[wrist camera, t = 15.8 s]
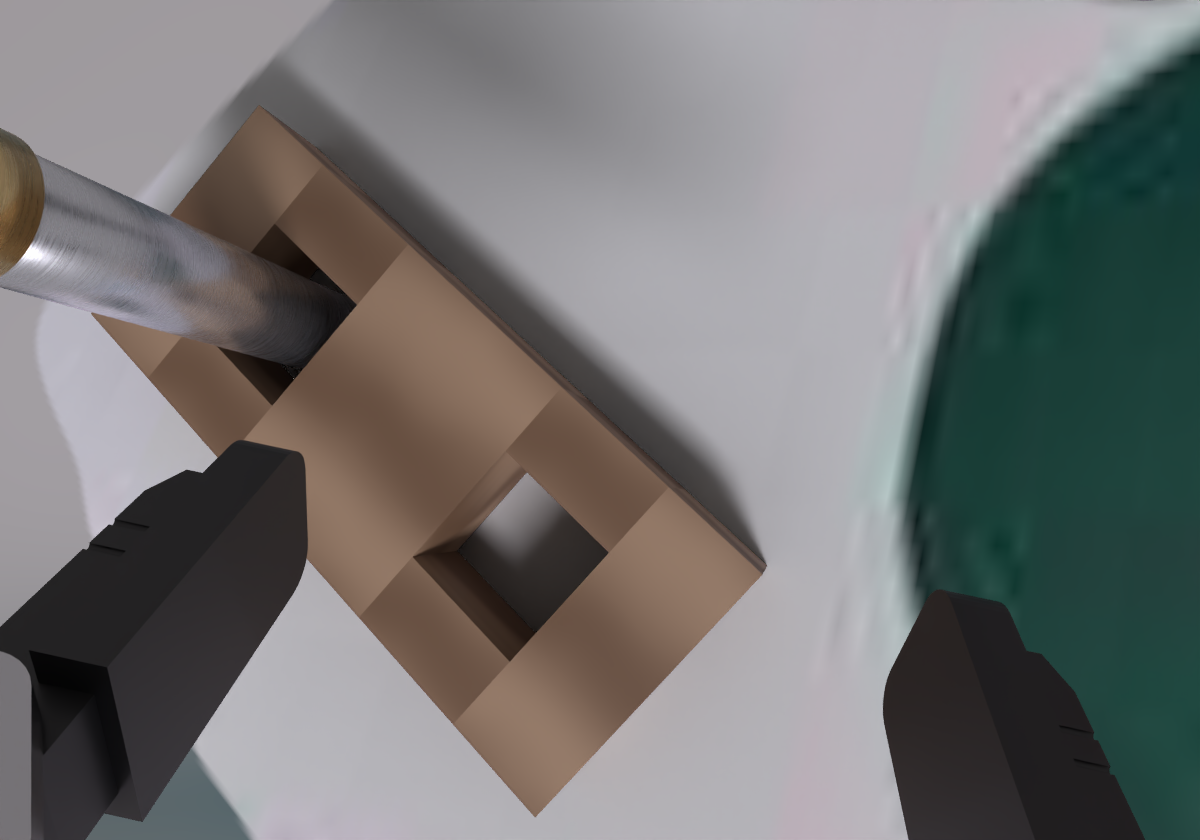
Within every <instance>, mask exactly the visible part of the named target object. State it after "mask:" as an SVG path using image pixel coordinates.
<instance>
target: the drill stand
mask: <svg viewBox="0 0 1200 840" xmlns="http://www.w3.org/2000/svg"><path fill="white" fill-rule="evenodd" d="M170 216H171V217H174V218H176V219H178V220H180V221H182V222H185V223H187V224H189V225H191V226H193V227H195V228H198V229H200V230H202V231H204V232H206V233H209V234H211V235H213V236H215V237H217V238H220V239H222V240H224V241H226V242H228V243H230V244H233V245H235V246H237V247H239V248H241V249H244V250H246V251H248V252H250V253H252V254H254V255H257V256H259V257H261V258H263V259H265V260H268V261H270V262H272V263H274V264H276V265H279V266H281V267H283V268H285V269H287V270H289V271H292V272H294V273H296V274H298V275H300V276H303V277H305V278H307V279H309V278H310V277H311V276H312V275H313V274H314V272H315V271H316V270H317V269H318V268H320V269H321V270H322V271H323V272H324V273H325V274H326V275H327V276H328V277H329V278H330V279H331V280H332V281H333V282H334V283H335V284H336V285H338V286H339V287H340V288H341V289H342V290H343V291H344V292H345V293H346V294H347V295H348V296H349V297H350V298H351V299H352V300H353V301H354V302H355V303H356V304H357V306H356V307H355V308H354V309H353V311H352V312H351V313H350V314H349V315H348V316H347V318H346V319H345V320H344V321H343V322H342V324H341V325H340V326H339V327H338V328H337V330H336V331H335V332H334V333H333V334H332V335H331V337H330V338H329V339H328V340H327V341H326V343H325V344H324V345H323V346H322V347H321V349H320V350H319V351H318V352H317V353H316V354H315V356H314V357H313V358H312V359H311V360H310V362H309V363H308V364H307V365H306V366H305V368H304V369H303V370H302V371H301V372H300V374H299V375H298V376H297V377H296V378H295V379H293V378H292V377H291V376H290V375H289V374H288V372H287V371H286V370H285V369H284V368H283V367H282V366H281V365H280V364H279V363H277V362H273V361H270V360H266V359H262V358H259V357H255V356H251V355H248V354H244V353H240V352H237V351H233V350H229V349H225V348H222V347H218V346H214V345H211V344H207V343H203V342H200V341H196V340H192V339H189V338H185V337H181V336H178V335H174V334H170V333H166V332H163V331H159V330H155V329H152V328H148V327H144V326H141V325H137V324H133V323H130V322H126V321H122V320H118V319H115V318H111V317H107V316H104V315H100V314H96V313H93V312H92V313H91V314H92V315H93V317H94V318H95V319H96V320H97V321H98V322H99V323H100V325H101V326H102V327H103V328H104V329H105V330H106V331H107V332H108V334H109V335H110V336H111V337H112V338H113V339H114V340H115V342H116V343H117V344H118V345H119V346H120V347H121V348H122V349H123V351H124V352H125V353H126V354H127V355H128V356H129V357H130V359H131V360H132V361H133V362H134V363H135V364H136V365H137V366H138V368H139V369H140V370H141V371H142V372H143V373H144V374H145V376H146V377H147V378H148V379H149V380H150V381H151V382H152V383H153V385H154V386H155V387H156V388H157V389H158V390H159V391H160V393H161V394H162V395H163V396H164V397H165V398H166V399H167V401H168V402H169V403H170V404H171V405H172V406H173V407H174V408H175V410H176V411H177V412H178V413H179V414H180V415H181V416H182V418H183V419H184V420H185V421H186V422H187V423H188V424H189V425H190V427H191V428H192V429H193V430H194V431H195V432H196V433H197V435H198V436H199V437H200V438H201V439H202V440H203V441H204V442H205V444H206V445H207V446H208V447H209V448H210V449H211V450H212V452H213V453H214V454H215V455H216V456H217V457H219V456H220V455H221V454H222V453H223V452H224V451H225V450H226V449H227V448H228V447H229V446H230V445H231V444H232V443H234V442H235V441H238V440H246V441H250V442H255V443H260V444H265V445H269V446H274V447H279V448H284V449H288V450H293V451H298V452H300V453H301V454H302V456H303V458H304V461H305V469H306V498H307V527H308V552H307V559H308V560H309V562H310V563H311V564H312V565H313V566H314V567H315V568H316V569H317V571H318V572H319V573H320V574H321V575H322V576H323V577H324V579H325V580H326V581H327V582H328V583H329V584H330V585H331V586H332V588H333V589H334V590H335V591H336V592H337V593H338V594H339V596H340V597H341V598H342V599H343V600H344V601H345V602H346V603H347V605H348V606H349V607H350V608H351V609H352V610H353V611H354V613H355V614H356V615H357V616H358V617H359V618H360V619H361V620H362V622H363V623H364V624H365V625H366V626H367V627H368V628H369V630H370V631H371V632H372V633H373V634H374V635H375V636H376V638H377V639H378V640H379V641H380V642H381V643H382V644H383V645H384V647H385V648H386V649H387V650H388V651H389V652H390V653H391V655H392V656H393V657H394V658H395V659H396V660H397V661H398V662H399V664H400V665H401V666H402V667H403V668H404V669H405V670H406V672H407V673H408V674H409V675H410V676H411V677H412V678H413V679H414V681H415V682H416V683H417V684H418V685H419V686H420V687H421V689H422V690H423V691H424V692H425V693H426V694H427V695H428V696H429V698H430V699H431V700H432V701H433V702H434V703H435V704H436V706H437V707H438V708H439V709H440V710H441V711H442V712H443V713H444V715H445V716H446V717H447V718H448V719H449V720H450V721H451V723H452V724H453V725H454V726H455V727H456V728H457V729H458V730H459V732H460V733H461V734H462V735H463V736H464V737H465V738H466V740H467V741H468V742H469V743H470V744H471V745H472V746H473V748H474V749H475V750H476V751H477V752H478V753H479V754H480V755H481V757H482V758H483V759H484V760H485V761H486V762H487V763H488V765H489V766H490V767H491V768H492V769H493V770H494V771H495V772H496V774H497V775H498V776H499V777H500V778H501V779H502V780H503V782H504V783H505V784H506V785H507V786H508V787H509V788H510V789H511V791H512V792H513V793H514V794H515V795H516V796H517V797H518V799H519V800H520V801H521V802H522V803H523V804H524V805H525V806H526V808H527V809H528V810H529V811H530V812H531V813H532V814H533V816H534V817H536V816H537V815H538V814H539V813H540V812H541V811H542V810H543V808H544V807H545V806H546V805H547V804H548V803H549V802H550V801H551V800H552V799H553V798H554V797H555V796H556V795H557V793H558V792H559V791H560V790H561V789H562V788H563V787H564V786H565V785H566V784H567V783H568V782H569V781H570V780H571V779H572V777H573V776H574V775H575V774H576V773H577V772H578V771H579V770H580V769H581V768H582V767H583V766H584V765H585V764H586V762H587V761H588V760H589V759H590V758H591V757H592V756H593V755H594V754H595V753H596V752H597V751H598V750H599V749H600V748H601V746H602V745H603V744H604V743H605V742H606V741H607V740H608V739H609V738H610V737H611V736H612V735H613V734H614V733H615V731H616V730H617V729H618V728H619V727H620V726H621V725H622V724H623V723H624V722H625V721H626V720H627V719H628V718H629V716H630V715H631V714H632V713H633V712H634V711H635V710H636V709H637V708H638V707H639V706H640V705H641V704H642V703H643V702H644V700H645V699H646V698H647V697H648V696H649V695H650V694H651V693H652V692H653V691H654V690H655V689H656V688H657V687H658V685H659V684H660V683H661V682H662V681H663V680H664V679H665V678H666V677H667V676H668V675H669V674H670V673H671V672H672V671H673V669H674V668H675V667H676V666H677V665H678V664H679V663H680V662H681V661H682V660H683V659H684V658H685V657H686V656H687V654H688V653H689V652H690V651H691V650H692V649H693V648H694V647H695V646H696V645H697V644H698V643H699V642H700V641H701V639H702V638H703V637H704V636H705V635H706V634H707V633H708V632H709V631H710V630H711V629H712V628H713V627H714V626H715V625H716V623H717V622H718V621H719V620H720V619H721V618H722V617H723V616H724V615H725V614H726V613H727V612H728V611H729V610H730V608H731V607H732V606H733V605H734V604H735V603H736V602H737V601H738V600H739V599H740V598H741V597H742V596H743V595H744V594H745V592H746V591H747V590H748V589H749V588H750V587H751V586H752V585H753V584H754V583H755V582H756V581H757V580H758V579H759V577H760V576H761V575H762V574H763V572H764V571H765V569H766V567H767V565H766V564H765V563H764V562H763V561H762V560H761V559H760V558H758V557H757V556H756V555H755V554H754V553H753V552H752V551H751V550H750V549H749V548H748V547H747V546H746V545H744V544H743V543H742V542H741V541H740V540H739V539H738V538H737V537H736V536H735V535H734V534H733V533H732V532H730V531H729V530H728V529H727V528H726V527H725V526H724V525H723V524H722V523H721V522H720V521H719V520H718V519H716V518H715V517H714V516H713V515H712V514H711V513H710V512H709V511H708V510H707V509H706V508H705V507H703V506H702V505H701V504H700V503H699V502H698V501H697V500H696V499H695V498H694V497H693V496H692V495H691V494H689V493H688V492H687V491H686V490H685V489H684V488H683V487H682V486H681V485H680V484H679V483H678V482H677V481H675V480H674V479H673V478H672V477H671V476H670V475H669V474H668V473H667V472H666V471H665V470H664V469H662V468H661V467H660V466H659V465H658V464H657V463H656V462H655V461H654V460H653V459H652V458H651V457H650V456H648V455H647V454H646V453H645V452H644V451H643V450H642V449H641V448H640V447H639V446H638V445H637V444H636V443H634V442H633V441H632V440H631V439H630V438H629V437H628V436H627V435H626V434H625V433H624V432H623V431H622V430H620V429H619V428H618V427H617V426H616V425H615V424H614V423H613V422H612V421H611V420H610V419H609V418H607V417H606V416H605V415H604V414H603V413H602V412H601V411H600V410H599V409H598V408H597V407H596V406H595V405H593V404H592V403H591V402H590V401H589V400H588V399H587V398H586V397H585V396H584V395H583V394H582V393H581V392H579V391H578V390H577V389H576V388H575V387H574V386H573V385H572V384H571V383H570V382H569V381H568V380H567V379H565V378H564V377H563V376H562V375H561V374H560V373H559V372H558V371H557V370H556V369H555V368H554V367H552V366H551V365H550V364H549V363H548V362H547V361H546V360H545V359H544V358H543V357H542V356H541V355H540V354H538V353H537V352H536V351H535V350H534V349H533V348H532V347H531V346H530V345H529V344H528V343H527V342H526V341H524V340H523V339H522V338H521V337H520V336H519V335H518V334H517V333H516V332H515V331H514V330H513V329H511V328H510V327H509V326H508V325H507V324H506V323H505V322H504V321H503V320H502V319H501V318H500V317H499V316H497V315H496V314H495V313H494V312H493V311H492V310H491V309H490V308H489V307H488V306H487V305H486V304H485V303H483V302H482V301H481V300H480V299H479V298H478V297H477V296H476V295H475V294H474V293H473V292H472V291H471V290H469V289H468V288H467V287H466V286H465V285H464V284H463V283H462V282H461V281H460V280H459V279H458V278H456V277H455V276H454V275H453V274H452V273H451V272H450V271H449V270H448V269H447V268H446V267H445V266H444V265H442V264H441V263H440V262H439V261H438V260H437V259H436V258H435V257H434V256H433V255H432V254H431V253H430V252H428V251H427V250H426V249H425V248H424V247H423V246H422V245H421V244H420V243H419V242H418V241H417V240H415V239H414V238H413V237H412V236H411V235H410V234H409V233H408V232H407V231H406V230H405V229H404V228H403V227H401V226H400V225H399V224H398V223H397V222H396V221H395V220H394V219H393V218H392V217H391V216H390V215H389V214H387V213H386V212H385V211H384V210H383V209H382V208H381V207H380V206H379V205H378V204H377V203H376V202H375V201H373V200H372V199H371V198H370V197H369V196H368V195H367V194H366V193H365V192H364V191H363V190H362V189H360V188H359V187H358V186H357V185H356V184H355V183H354V182H353V181H352V180H351V179H350V178H349V177H348V176H346V175H345V174H344V173H343V172H342V171H341V170H340V169H339V168H338V167H337V166H336V165H335V164H334V163H332V162H331V161H330V160H329V159H328V158H327V157H326V156H325V155H324V154H323V153H322V152H321V151H320V150H318V149H317V148H316V147H315V146H314V145H312V144H311V143H310V142H308V141H307V140H306V139H304V138H303V137H302V136H300V135H299V134H298V133H296V132H295V131H293V130H292V129H291V128H289V127H288V126H287V125H285V124H284V123H283V122H281V121H280V120H279V119H277V118H276V117H275V116H273V115H272V114H270V113H269V112H268V111H266V110H265V109H264V108H262V107H261V106H260V105H259V106H258V107H257V108H256V109H255V111H254V112H253V113H252V114H251V116H250V117H249V118H248V119H247V121H246V122H245V123H244V124H243V126H242V127H241V128H240V129H239V131H238V132H237V133H236V134H235V136H234V137H233V138H232V139H231V141H230V142H229V143H228V144H227V146H226V147H225V148H224V149H223V150H222V152H221V153H220V154H219V155H218V157H217V158H216V159H215V160H214V162H213V163H212V164H211V165H210V167H209V168H208V169H207V170H206V172H205V173H204V174H203V175H202V177H201V178H200V179H199V180H198V182H197V183H196V184H195V185H194V186H193V188H192V189H191V190H190V191H189V193H188V194H187V195H186V196H185V198H184V199H183V200H182V201H181V203H180V204H179V205H178V206H177V208H176V209H175V210H174V211H173V213H172V214H171V215H170ZM526 473H528V474H529V475H530V476H532V477H533V478H534V479H535V480H536V481H537V482H538V483H539V484H540V485H541V486H542V487H543V488H544V489H545V490H546V491H547V492H548V493H549V494H550V495H551V496H552V497H553V498H554V499H555V500H556V501H557V502H558V503H559V504H560V505H561V506H562V507H563V508H564V509H565V510H566V511H567V512H568V513H569V514H570V515H571V516H572V517H573V518H574V519H575V520H576V521H577V522H578V523H579V524H580V525H581V526H582V527H583V528H584V529H585V530H586V531H587V532H588V533H589V534H590V535H591V536H592V537H593V538H594V539H595V540H597V541H598V542H599V543H600V544H601V545H602V546H603V547H604V548H605V549H606V550H607V551H608V552H609V553H608V554H607V555H606V557H605V558H604V559H603V560H602V561H601V562H600V563H599V564H598V565H597V566H596V568H595V569H594V570H593V571H592V572H591V573H590V574H589V575H588V576H587V577H586V579H585V580H584V581H583V582H582V583H581V584H580V585H579V586H578V587H577V588H576V590H575V591H574V592H573V593H572V594H571V595H570V596H569V597H568V598H567V599H566V601H565V602H564V603H563V604H562V605H561V606H560V607H559V608H558V609H557V610H556V612H555V613H554V614H553V615H552V616H551V617H550V618H549V619H548V620H547V621H546V623H545V624H544V625H543V626H542V627H541V628H540V629H539V630H538V631H537V632H536V633H535V632H534V631H533V630H532V629H531V628H530V627H529V626H528V625H527V624H526V623H525V622H524V621H523V620H522V619H521V618H520V617H519V616H518V614H517V613H516V612H515V611H514V610H513V609H512V608H511V607H510V606H509V605H508V604H507V603H506V602H505V601H504V600H503V599H502V598H501V597H500V596H499V594H498V593H497V592H496V591H495V590H494V589H493V588H492V587H491V586H490V585H489V584H488V583H487V582H486V581H485V580H484V579H483V578H482V577H481V576H480V574H479V573H478V572H477V571H476V570H475V569H474V568H473V567H472V566H471V565H470V564H469V563H468V562H467V561H466V560H465V559H464V558H463V557H462V556H461V555H460V553H459V552H458V551H457V550H458V549H459V548H460V547H461V546H462V545H463V544H464V542H465V541H466V540H467V539H468V538H469V537H470V536H471V535H472V533H473V532H474V531H475V530H476V529H477V528H478V527H479V526H480V524H481V523H482V522H483V521H484V520H485V519H486V518H487V517H488V515H489V514H490V513H491V512H492V511H493V510H494V509H495V508H496V506H497V505H498V504H499V503H500V502H501V501H502V500H503V499H504V497H505V496H506V495H507V494H508V493H509V492H510V491H511V490H512V488H513V487H514V486H515V485H516V484H517V483H518V482H519V480H520V479H521V478H522V477H523V476H524V475H525V474H526Z"/></svg>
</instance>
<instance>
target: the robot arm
mask: <svg viewBox="0 0 1200 840" xmlns="http://www.w3.org/2000/svg"><path fill="white" fill-rule="evenodd" d="M1141 1H1151V0H1141ZM307 552H308V527H307V498H306V469H305V461H304V458H303V456H302V454H301V453H300V452H298V451H293V450H288V449H284V448H279V447H274V446H269V445H265V444H260V443H255V442H250V441H246V440H238V441H235V442H234V443H232V444H231V445H230V446H229V447H228V448H227V449H226V450H225V451H224V452H223V453H222V454H221V455H220V456H219V457H218V458H217V459H216V460H215V461H214V462H213V463H212V464H211V465H210V466H209V467H208V468H207V469H206V470H205V471H204V472H203V473H200V472H195V471H190V470H185V471H183V472H181V473H179V474H177V475H175V476H173V477H171V478H169V479H167V480H165V481H163V482H161V483H159V484H157V485H155V486H153V487H151V488H149V489H147V490H145V491H144V492H143V493H142V494H141V495H140V496H139V497H137V498H136V499H135V500H134V501H133V502H132V503H131V504H130V505H129V506H128V507H127V508H126V509H125V510H124V511H123V512H122V513H121V514H119V515H118V516H117V517H116V518H115V522H114V524H113V525H108V526H107V527H106V528H105V529H104V530H102V531H101V532H100V533H99V534H98V535H97V536H96V537H95V538H94V539H93V540H92V541H91V542H90V545H89V548H88V549H87V550H85V549H82V550H81V551H80V552H79V553H78V554H77V555H76V556H75V557H74V558H73V559H72V560H71V561H70V562H69V563H68V564H67V565H65V567H63V568H62V569H61V570H60V571H59V572H58V573H57V574H56V575H55V576H54V577H53V578H52V579H51V580H50V581H48V582H47V584H45V585H44V586H43V587H42V588H41V589H40V590H39V591H38V592H37V593H36V594H35V595H34V596H33V597H32V598H30V599H29V600H28V601H27V602H26V603H25V604H24V605H23V606H22V607H21V608H20V609H19V610H18V611H17V612H16V613H15V614H13V615H12V616H11V617H10V618H9V619H8V620H7V621H6V622H5V623H4V624H3V625H2V626H1V627H0V840H85V839H86V838H87V836H88V835H89V834H90V832H91V831H92V829H93V828H94V827H95V825H96V824H97V822H98V821H99V820H100V818H101V817H102V815H103V814H104V813H105V814H110V815H114V816H119V817H124V818H128V819H132V820H136V821H141V822H143V820H144V819H145V817H146V816H147V814H148V813H149V811H150V810H151V808H152V806H153V805H154V804H155V802H156V800H157V799H158V797H159V796H160V794H161V793H162V791H163V790H164V788H165V787H166V785H167V784H168V782H169V781H170V779H171V778H172V776H173V775H174V773H175V772H176V770H177V769H178V767H179V765H180V764H181V763H182V761H183V760H184V758H185V757H186V755H187V754H188V752H189V751H190V749H191V748H192V746H193V745H194V743H195V742H196V740H197V738H198V737H199V735H200V734H201V732H202V731H203V729H204V728H205V726H206V725H207V723H208V722H209V720H210V719H211V717H212V716H213V714H214V713H215V711H216V710H217V708H218V707H219V705H220V704H221V702H222V701H223V699H224V698H225V696H226V695H227V693H228V692H229V690H230V689H231V687H232V686H233V684H234V683H235V681H236V680H237V678H238V676H239V675H240V673H241V672H242V670H243V669H244V667H245V666H246V664H247V663H248V661H249V660H250V658H251V657H252V655H253V654H254V652H255V651H256V649H257V648H258V646H259V645H260V643H261V642H262V640H263V639H264V637H265V636H266V634H267V633H268V631H269V630H270V628H271V627H272V625H273V624H274V622H275V621H276V619H277V618H278V616H279V614H280V613H281V611H282V610H283V608H284V607H285V605H286V604H287V602H288V601H289V599H290V598H291V596H292V595H293V593H294V591H295V590H296V588H297V586H298V584H299V581H300V579H301V576H302V573H303V570H304V567H305V563H306V558H307ZM883 718H884V725H885V730H886V735H887V739H888V744H889V749H890V754H891V758H892V763H893V768H894V773H895V777H896V782H897V787H898V792H899V796H900V801H901V806H902V810H903V815H904V820H905V825H906V829H907V834H908V839H909V840H1145V838H1144V836H1143V834H1142V832H1141V830H1140V828H1139V826H1138V824H1137V822H1136V819H1135V817H1134V815H1133V813H1132V811H1131V809H1130V807H1129V805H1128V803H1127V801H1126V798H1125V796H1124V794H1123V792H1122V790H1121V788H1120V786H1119V784H1118V782H1117V779H1116V777H1115V775H1110V773H1109V768H1110V765H1109V763H1108V761H1107V758H1106V756H1105V754H1104V752H1103V750H1102V748H1101V746H1100V744H1099V742H1098V741H1097V740H1094V739H1093V734H1094V731H1093V729H1092V727H1091V725H1090V723H1089V721H1088V719H1087V716H1086V714H1085V712H1084V710H1083V708H1082V706H1081V704H1080V702H1079V700H1078V698H1077V695H1076V693H1075V692H1074V690H1073V689H1072V688H1071V687H1070V686H1069V685H1068V684H1067V683H1066V681H1065V680H1064V679H1063V678H1062V677H1061V676H1060V675H1059V674H1058V672H1057V671H1056V670H1055V669H1054V668H1053V667H1052V666H1051V664H1050V663H1049V662H1048V661H1047V660H1046V659H1045V658H1044V657H1043V655H1042V654H1039V653H1034V652H1029V651H1026V649H1025V647H1024V644H1023V642H1022V640H1021V637H1020V635H1019V633H1018V631H1017V628H1016V626H1015V624H1014V621H1013V619H1012V617H1011V614H1010V612H1009V611H1008V609H1007V608H1006V606H1005V605H1004V604H1002V603H1000V602H997V601H992V600H987V599H983V598H978V597H973V596H969V595H964V594H959V593H954V592H950V591H945V590H936V591H934V592H933V593H932V594H931V595H930V596H929V597H928V599H927V600H926V602H925V604H924V606H923V608H922V610H921V612H920V614H919V616H918V618H917V620H916V622H915V624H914V626H913V628H912V629H911V631H910V633H909V635H908V637H907V639H906V641H905V643H904V645H903V647H902V649H901V651H900V653H899V655H898V657H897V659H896V661H895V663H894V665H893V667H892V669H891V671H890V673H889V676H888V679H887V682H886V686H885V691H884V699H883Z"/></svg>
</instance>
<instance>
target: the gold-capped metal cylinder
mask: <svg viewBox="0 0 1200 840" xmlns="http://www.w3.org/2000/svg"><path fill="white" fill-rule="evenodd" d="M0 287H1V288H4V289H8V290H12V291H15V292H19V293H23V294H27V295H30V296H34V297H37V298H41V299H45V300H48V301H52V302H56V303H59V304H63V305H67V306H71V307H74V308H78V309H82V310H85V311H89V312H93V313H96V314H100V315H104V316H107V317H111V318H115V319H118V320H122V321H126V322H130V323H133V324H137V325H141V326H144V327H148V328H152V329H155V330H159V331H163V332H166V333H170V334H174V335H178V336H181V337H185V338H189V339H192V340H196V341H200V342H203V343H207V344H211V345H214V346H218V347H222V348H225V349H229V350H233V351H237V352H240V353H244V354H248V355H251V356H255V357H259V358H262V359H266V360H270V361H273V362H277V363H281V364H285V365H288V366H292V367H296V368H299V369H304V368H305V366H306V365H307V364H308V363H309V362H310V360H311V359H312V358H313V357H314V356H315V354H316V353H317V352H318V351H319V350H320V349H321V347H322V346H323V345H324V344H325V343H326V341H327V340H328V339H329V338H330V337H331V335H332V334H333V333H334V332H335V331H336V330H337V328H338V327H339V326H340V325H341V324H342V322H343V321H344V320H345V319H346V318H347V316H348V315H349V314H350V313H351V312H352V311H353V309H354V308H355V307H356V306H357V304H356V303H355V302H354V301H353V300H352V299H351V298H348V297H346V296H344V295H342V294H340V293H338V292H335V291H333V290H331V289H329V288H327V287H324V286H322V285H320V284H318V283H316V282H314V281H311V280H309V279H307V278H305V277H303V276H300V275H298V274H296V273H294V272H292V271H289V270H287V269H285V268H283V267H281V266H279V265H276V264H274V263H272V262H270V261H268V260H265V259H263V258H261V257H259V256H257V255H254V254H252V253H250V252H248V251H246V250H244V249H241V248H239V247H237V246H235V245H233V244H230V243H228V242H226V241H224V240H222V239H220V238H217V237H215V236H213V235H211V234H209V233H206V232H204V231H202V230H200V229H198V228H195V227H193V226H191V225H189V224H187V223H185V222H182V221H180V220H178V219H176V218H174V217H171V216H169V215H167V214H165V213H163V212H160V211H158V210H156V209H154V208H152V207H150V206H147V205H145V204H143V203H141V202H139V201H136V200H134V199H132V198H130V197H128V196H126V195H123V194H121V193H119V192H117V191H114V190H112V189H110V188H108V187H106V186H104V185H101V184H99V183H97V182H95V181H93V180H90V179H88V178H86V177H84V176H82V175H80V174H77V173H75V172H73V171H71V170H69V169H66V168H64V167H62V166H60V165H58V164H55V163H53V162H51V161H49V160H47V159H45V158H42V157H40V156H38V155H36V154H34V152H33V151H32V150H31V148H30V147H29V146H28V145H27V144H26V143H25V142H24V141H23V140H22V139H20V138H19V137H17V136H16V135H14V134H12V133H10V132H7V131H5V130H3V129H1V128H0Z"/></svg>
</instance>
